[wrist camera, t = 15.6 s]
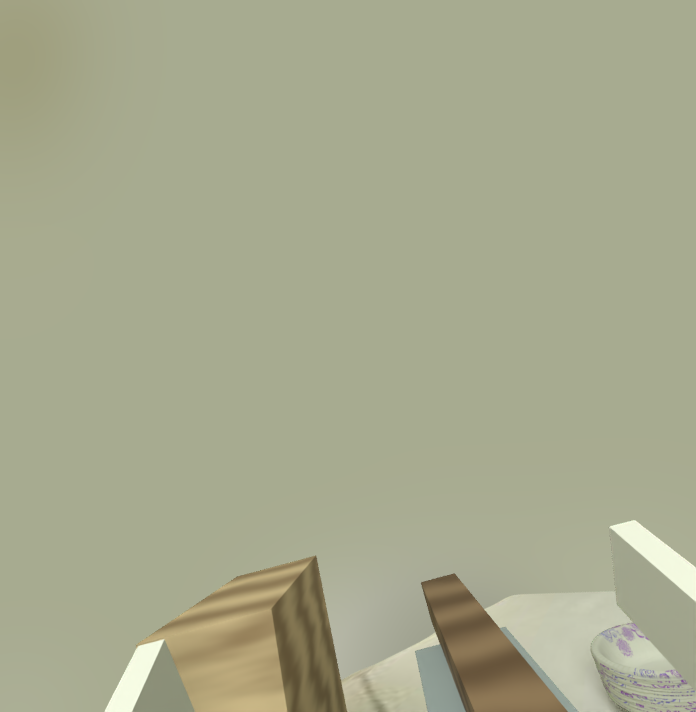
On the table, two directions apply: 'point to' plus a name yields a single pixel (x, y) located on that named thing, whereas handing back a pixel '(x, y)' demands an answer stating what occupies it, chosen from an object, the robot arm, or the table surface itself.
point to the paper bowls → (639, 673)
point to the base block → (442, 688)
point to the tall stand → (259, 645)
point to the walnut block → (482, 654)
